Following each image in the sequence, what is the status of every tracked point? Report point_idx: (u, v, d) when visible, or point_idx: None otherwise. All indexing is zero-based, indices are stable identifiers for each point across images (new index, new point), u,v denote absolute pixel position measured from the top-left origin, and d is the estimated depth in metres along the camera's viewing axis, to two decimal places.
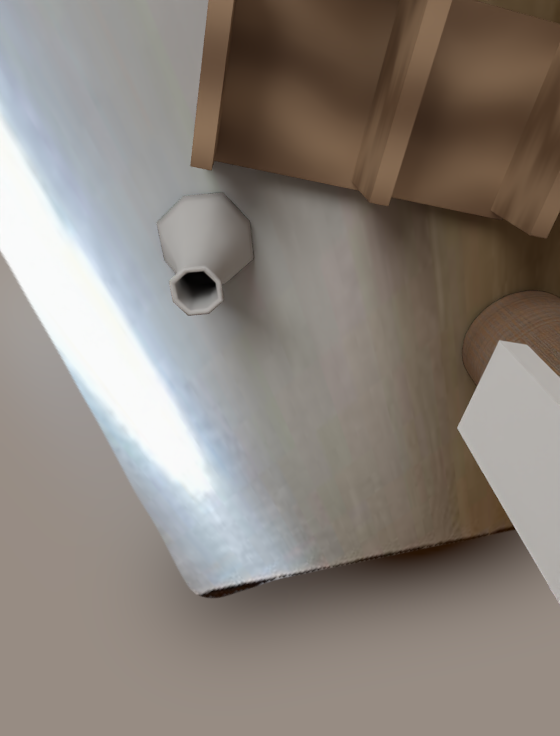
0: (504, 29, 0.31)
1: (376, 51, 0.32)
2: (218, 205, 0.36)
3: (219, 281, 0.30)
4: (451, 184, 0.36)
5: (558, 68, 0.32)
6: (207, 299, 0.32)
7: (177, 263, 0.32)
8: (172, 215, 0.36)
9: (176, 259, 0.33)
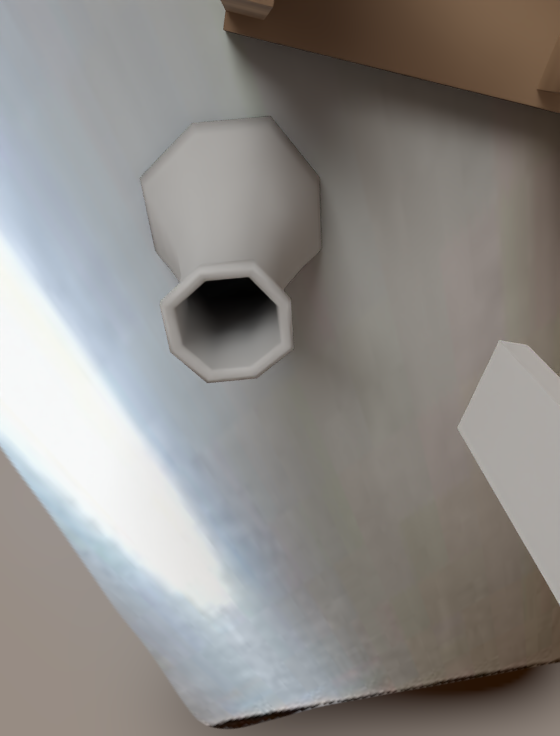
0: None
1: None
2: (263, 138, 0.17)
3: (287, 303, 0.12)
4: None
5: None
6: (249, 340, 0.14)
7: (181, 257, 0.14)
8: (170, 162, 0.18)
9: (178, 248, 0.15)
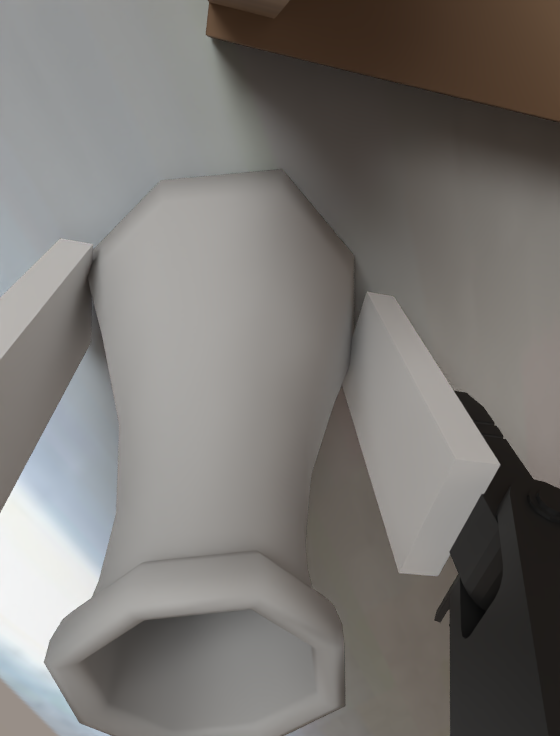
0: None
1: None
2: (272, 209, 0.11)
3: (336, 646, 0.05)
4: None
5: None
6: (250, 622, 0.07)
7: (122, 455, 0.08)
8: (126, 241, 0.12)
9: (122, 426, 0.08)
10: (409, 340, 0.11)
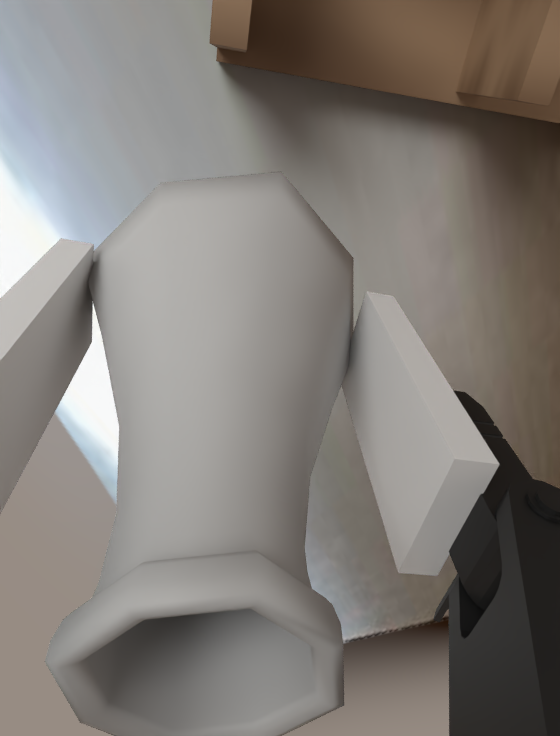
0: None
1: None
2: (272, 212, 0.11)
3: (335, 646, 0.05)
4: None
5: None
6: (250, 622, 0.07)
7: (122, 457, 0.08)
8: (126, 243, 0.12)
9: (122, 428, 0.08)
10: (409, 340, 0.11)
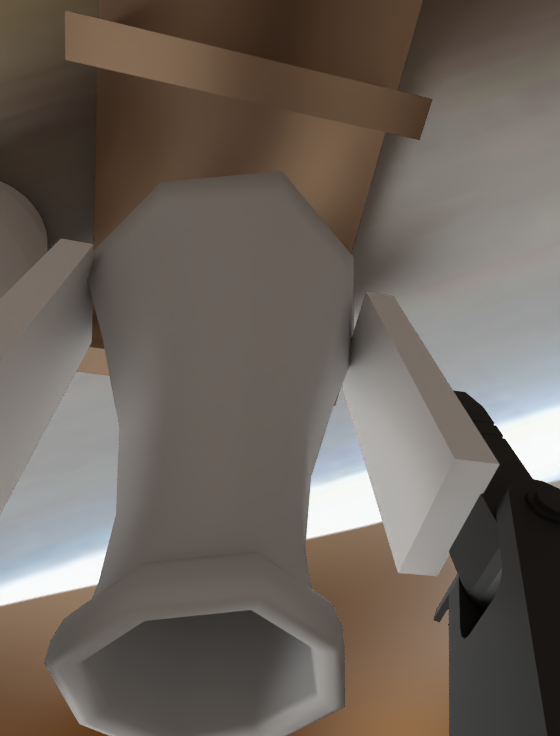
0: None
1: (191, 94, 0.21)
2: (272, 211, 0.11)
3: (336, 648, 0.05)
4: None
5: None
6: (250, 623, 0.07)
7: (122, 457, 0.08)
8: (126, 243, 0.12)
9: (122, 428, 0.08)
10: (408, 340, 0.11)
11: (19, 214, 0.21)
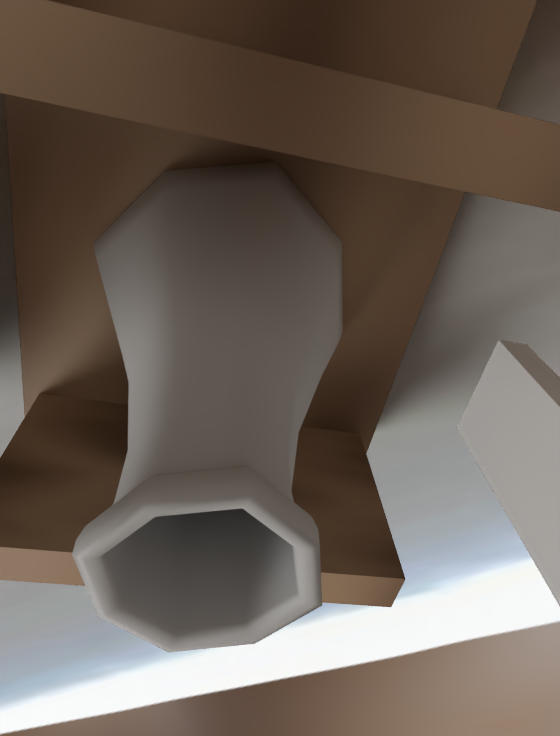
0: None
1: None
2: (266, 197, 0.12)
3: (313, 545, 0.06)
4: None
5: None
6: (243, 550, 0.08)
7: (132, 406, 0.09)
8: (132, 226, 0.13)
9: (131, 383, 0.09)
10: None
11: None
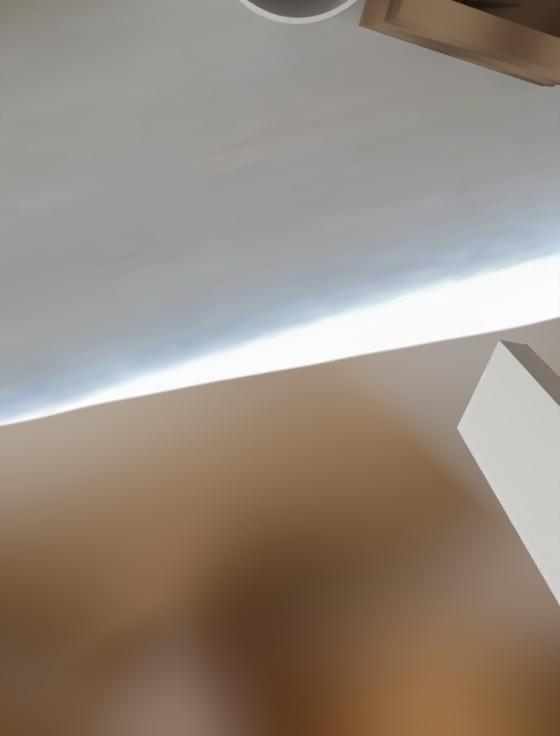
0: None
1: None
2: None
3: None
4: None
5: None
6: None
7: None
8: None
9: None
10: None
11: None
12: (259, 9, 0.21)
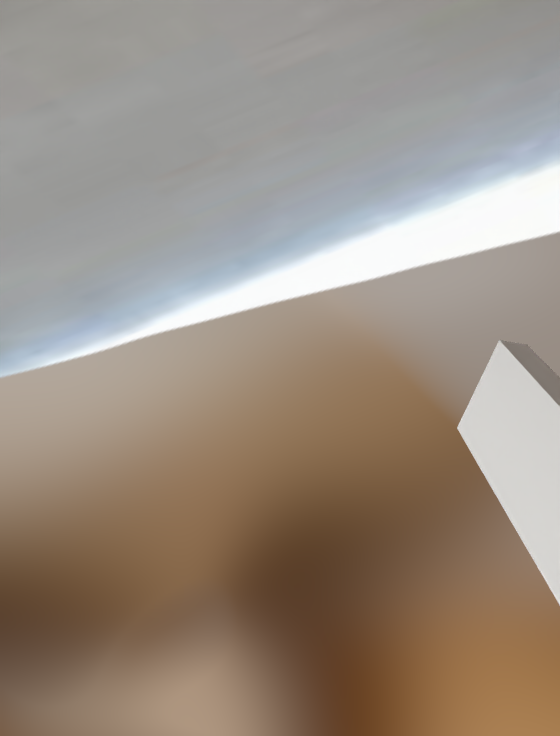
0: None
1: None
2: None
3: None
4: None
5: None
6: None
7: None
8: None
9: None
10: None
11: None
12: None
